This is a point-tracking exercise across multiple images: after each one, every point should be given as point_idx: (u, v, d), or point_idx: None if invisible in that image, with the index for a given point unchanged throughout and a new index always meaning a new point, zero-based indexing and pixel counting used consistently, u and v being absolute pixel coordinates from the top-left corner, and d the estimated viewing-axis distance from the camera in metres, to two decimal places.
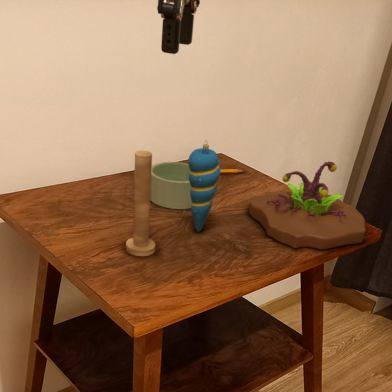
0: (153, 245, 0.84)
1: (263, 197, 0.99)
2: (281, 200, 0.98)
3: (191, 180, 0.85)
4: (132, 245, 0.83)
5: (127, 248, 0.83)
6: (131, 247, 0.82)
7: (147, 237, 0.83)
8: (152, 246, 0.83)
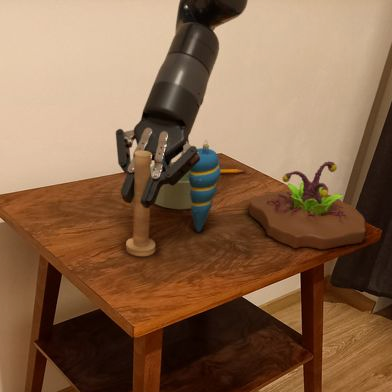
0: (153, 245, 0.84)
1: (263, 197, 0.99)
2: (281, 200, 0.98)
3: (191, 180, 0.85)
4: (132, 245, 0.83)
5: (127, 248, 0.83)
6: (131, 247, 0.82)
7: (147, 237, 0.83)
8: (152, 246, 0.83)
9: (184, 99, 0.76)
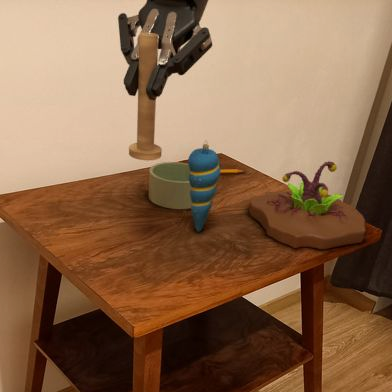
0: (158, 149, 0.76)
1: (263, 197, 0.99)
2: (281, 200, 0.98)
3: (191, 180, 0.85)
4: (136, 148, 0.75)
5: (130, 152, 0.75)
6: (134, 150, 0.74)
7: (152, 139, 0.74)
8: (158, 150, 0.75)
9: None
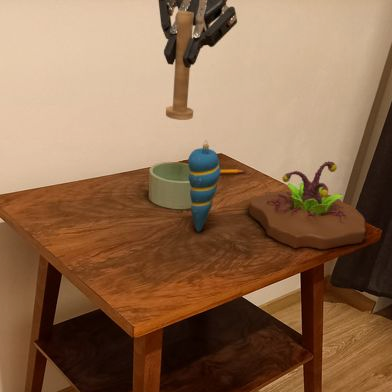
0: (191, 111, 0.90)
1: (263, 197, 0.99)
2: (281, 200, 0.98)
3: (191, 180, 0.85)
4: (172, 110, 0.89)
5: (167, 113, 0.89)
6: (171, 111, 0.89)
7: (186, 102, 0.89)
8: (191, 111, 0.90)
9: None
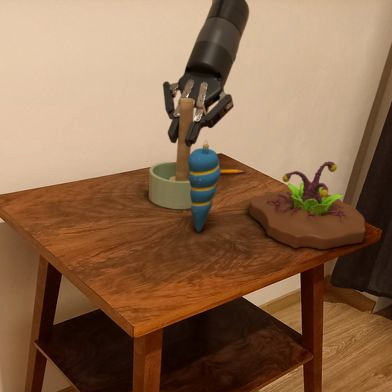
0: None
1: (263, 197, 0.99)
2: (281, 200, 0.98)
3: (191, 180, 0.85)
4: None
5: None
6: None
7: (187, 174, 0.98)
8: None
9: (221, 55, 0.92)
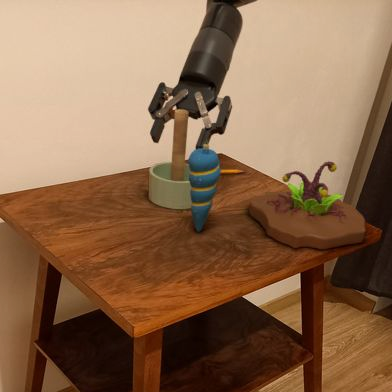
0: None
1: (263, 197, 0.99)
2: (281, 200, 0.98)
3: (191, 180, 0.85)
4: None
5: None
6: None
7: None
8: None
9: (215, 65, 0.92)
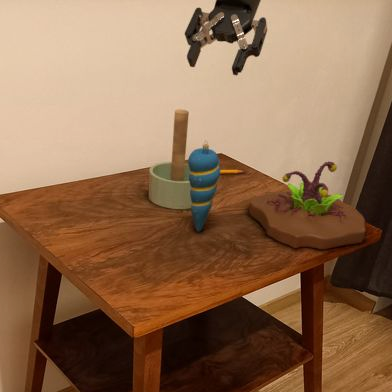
0: None
1: (263, 197, 0.99)
2: (281, 200, 0.98)
3: (191, 180, 0.85)
4: None
5: None
6: None
7: None
8: None
9: None
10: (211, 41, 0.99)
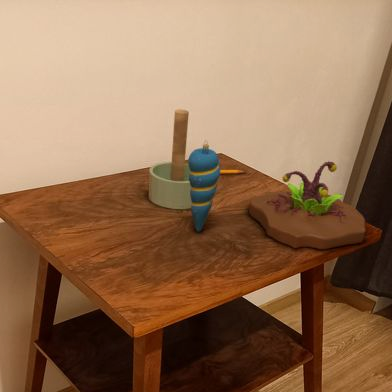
0: None
1: (263, 197, 0.99)
2: (281, 200, 0.98)
3: (191, 180, 0.85)
4: None
5: None
6: None
7: None
8: None
9: None
10: None
